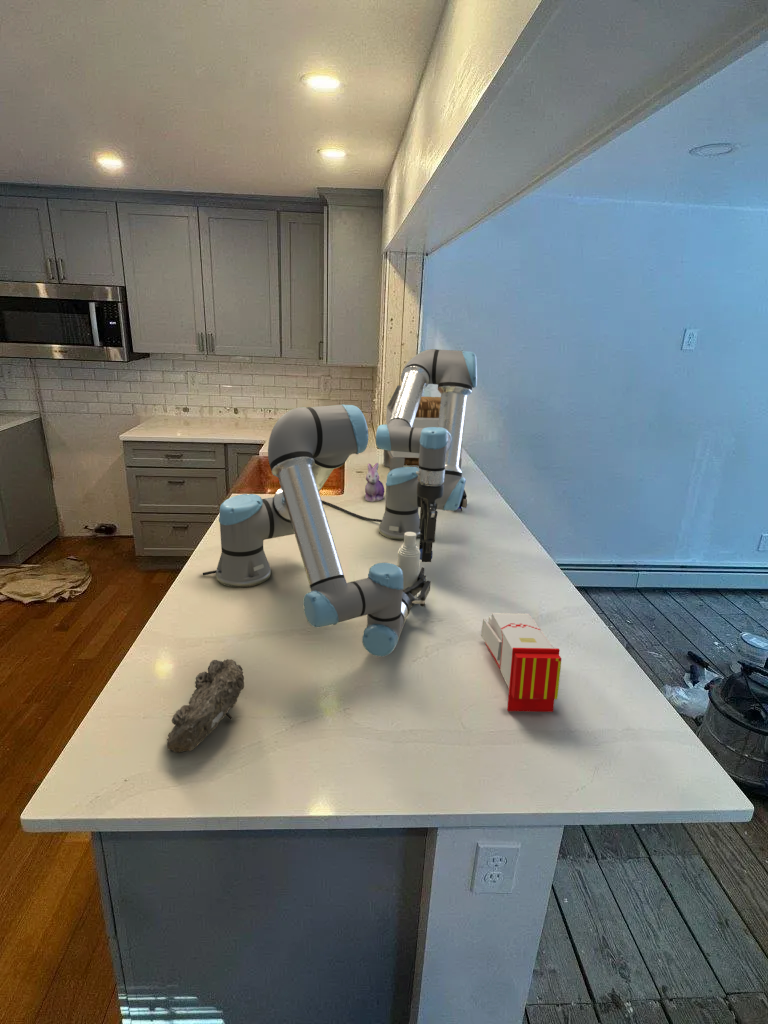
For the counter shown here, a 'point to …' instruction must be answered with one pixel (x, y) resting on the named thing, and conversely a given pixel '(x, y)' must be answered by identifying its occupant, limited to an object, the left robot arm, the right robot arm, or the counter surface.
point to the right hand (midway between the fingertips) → (424, 558)
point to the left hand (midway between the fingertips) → (411, 570)
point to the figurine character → (463, 501)
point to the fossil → (206, 705)
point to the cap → (421, 554)
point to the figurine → (373, 485)
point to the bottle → (409, 560)
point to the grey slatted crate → (423, 419)
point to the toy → (523, 661)
